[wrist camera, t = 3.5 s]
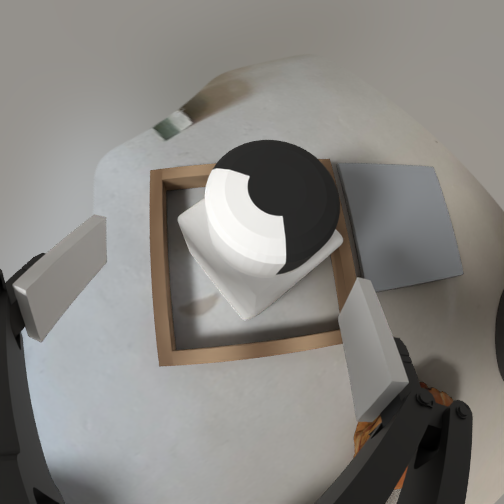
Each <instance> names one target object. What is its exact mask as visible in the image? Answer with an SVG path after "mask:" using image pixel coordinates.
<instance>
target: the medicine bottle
mask: <svg viewBox="0 0 504 504" xmlns="http://www.w3.org/2000/svg"><path fill="white" fill-rule="evenodd" d="M339 215H340V199H339V193H338V190H337V186H336V184H335V182H334V179H333V178H332V176H331V174H330V173H329V171H328V170H327V169H326V167H325V166H324V165H323V164H322V163H321V162H320V161H319V160H318V159H317V158H316V157H315V156H313V155H312V154H311V153H309V152H307V151H306V150H304V149H302V148H300V147H298V146H296V145H293V144H290V143H287V142H282V141H276V140H259V141H252V142H249V143H245V144H243V145H240V146H238V147H236V148H234V149H232V150H231V151H229V152H228V153H227V154H225V155H224V156H223V157H222V158H221V159H220V160H219V161H218V162H217V163H216V165H215V166H214V168H213V169H212V171H211V173H210V175H209V177H208V181H207V184H206V189H205V198H204V199H202V200H201V201H199V202H198V203H196V204H195V205H193V206H192V207H190V208H189V209H188V210H186V211H185V212H183V213H182V214H180V216H179V217H178V223H179V226H180V229H181V231H182V234H183V236H184V239H185V241H186V244H187V246H188V249H189V251H190V253H191V255H192V256H193V257H194V258H195V260H196V261H197V262H198V264H199V265H200V266H201V268H202V269H203V270H204V272H205V273H206V274H207V275H208V277H209V278H210V279H211V281H212V282H213V283H214V284H215V286H216V287H217V288H218V290H219V291H220V292H221V293H222V295H223V296H224V297H225V298H226V300H227V301H228V302H229V303H230V305H231V306H232V307H233V308H234V310H235V311H236V312H237V313H238V315H239V316H240V317H241V318H242V319H243V320H249V319H251V318H253V317H255V316H257V315H259V314H260V313H261V312H262V311H264V310H265V309H266V308H267V307H268V306H270V305H271V304H272V303H273V302H275V301H276V300H277V299H278V298H279V297H281V296H282V295H283V294H284V293H286V292H287V291H288V290H289V289H290V288H292V287H293V286H294V285H295V284H296V283H297V282H299V281H300V280H301V279H302V278H303V277H305V276H306V275H307V274H308V273H309V272H310V271H312V270H313V269H314V268H315V267H316V266H318V265H319V264H320V263H321V262H322V261H323V260H324V259H326V258H327V257H328V256H329V255H330V254H331V253H333V252H334V251H335V250H336V249H337V248H338V247H339V246H340V245H341V244H342V243H343V237H342V236H341V234H340V233H339V232H338V231H337V230H336V227H337V223H338V220H339Z"/></svg>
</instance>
